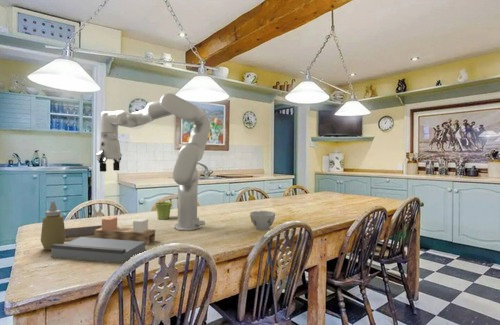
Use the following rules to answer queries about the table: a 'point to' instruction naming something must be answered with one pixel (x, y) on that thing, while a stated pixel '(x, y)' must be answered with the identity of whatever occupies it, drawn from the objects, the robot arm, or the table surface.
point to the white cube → (140, 225)
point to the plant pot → (163, 209)
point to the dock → (98, 249)
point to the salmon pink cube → (109, 223)
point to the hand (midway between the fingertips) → (109, 170)
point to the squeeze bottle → (52, 228)
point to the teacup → (262, 219)
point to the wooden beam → (126, 234)
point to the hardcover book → (80, 232)
